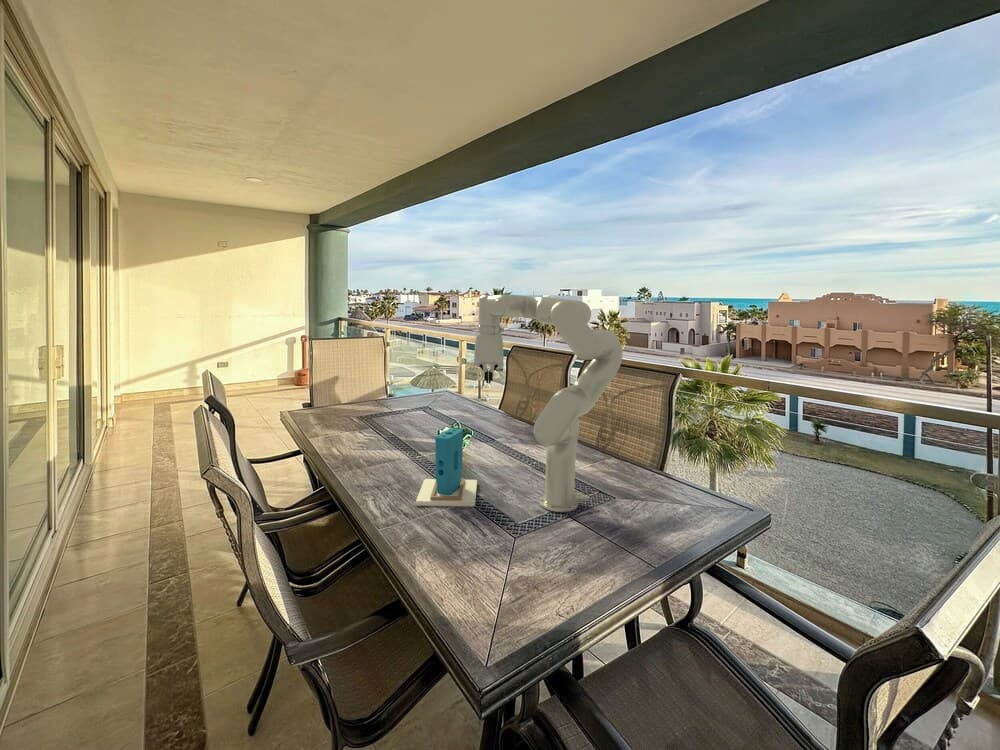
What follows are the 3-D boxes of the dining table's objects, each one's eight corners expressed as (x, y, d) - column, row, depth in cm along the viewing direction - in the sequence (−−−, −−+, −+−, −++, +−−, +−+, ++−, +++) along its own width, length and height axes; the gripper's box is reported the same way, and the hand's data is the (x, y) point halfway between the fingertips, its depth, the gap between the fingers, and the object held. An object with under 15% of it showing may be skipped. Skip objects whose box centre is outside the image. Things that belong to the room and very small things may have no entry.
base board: (477, 483, 167) (477, 477, 167) (474, 506, 148) (474, 499, 148) (424, 482, 167) (424, 476, 166) (415, 505, 148) (415, 498, 148)
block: (447, 497, 151) (448, 438, 148) (434, 495, 153) (434, 437, 150) (463, 484, 162) (463, 429, 159) (450, 482, 164) (450, 428, 161)
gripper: (510, 330, 164) (509, 381, 167) (468, 329, 164) (467, 380, 167) (511, 332, 157) (509, 385, 159) (467, 331, 156) (466, 384, 159)
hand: (488, 382), depth 163 cm, fingers closed
